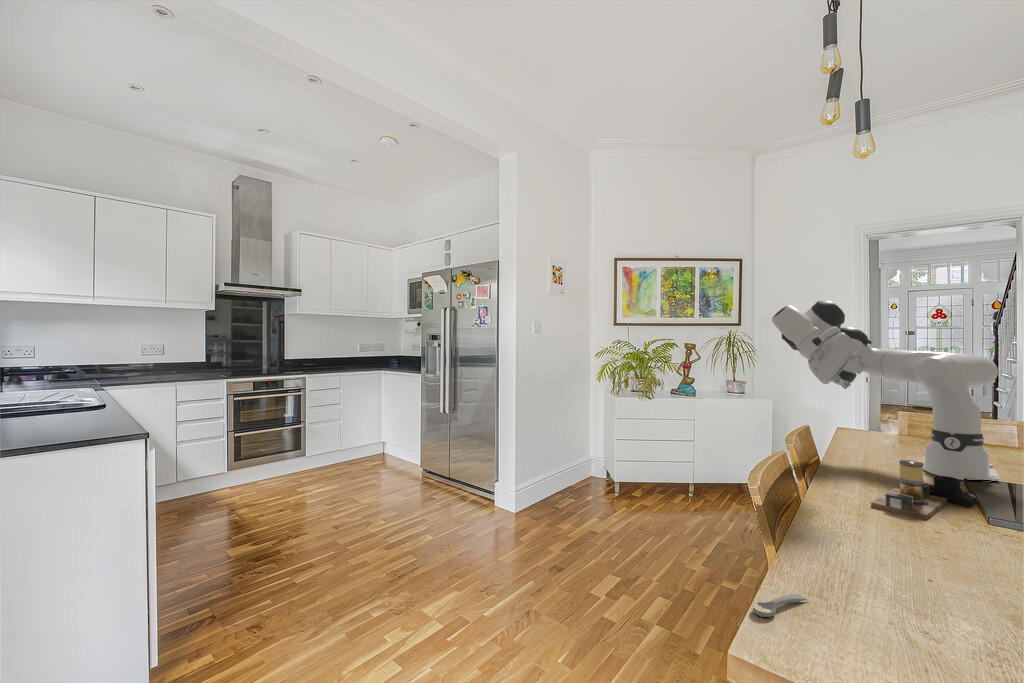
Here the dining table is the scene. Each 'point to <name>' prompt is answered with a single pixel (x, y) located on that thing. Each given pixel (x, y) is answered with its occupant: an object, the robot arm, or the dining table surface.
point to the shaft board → (916, 508)
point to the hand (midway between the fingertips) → (855, 379)
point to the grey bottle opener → (777, 604)
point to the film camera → (952, 491)
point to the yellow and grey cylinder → (911, 479)
